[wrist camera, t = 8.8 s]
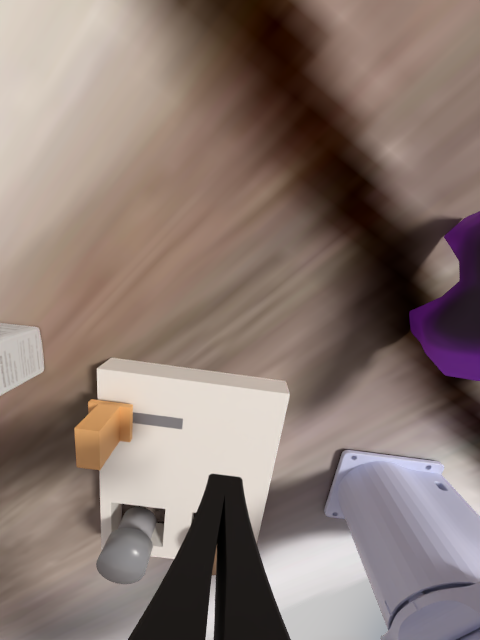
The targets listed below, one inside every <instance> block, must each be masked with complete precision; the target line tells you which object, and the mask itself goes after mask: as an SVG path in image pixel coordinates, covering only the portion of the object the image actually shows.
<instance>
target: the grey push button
mask: <svg viewBox="0 0 480 640" xmlns="http://www.w3.org/2000/svg"><path fill="white" fill-rule="evenodd" d="M155 525H156V517H155V515H154V514H153V513H152V512H151V511H150V510H148V509H145V508H142V507H134V508H131V509H129V510H127V511H126V512H125V514H124V516H123V518H122V520H121V522H120V524H119V526H118V529H117V530H115V531H113V532H112V533H111V534H110V535H109V537H108V539H107V541H106V543H105V545H104V547H103V549H102V552H101V554H100V556H99V558H98V560H97V564H96V565H97V569H98V571H99V573H100V574H101V575H102V576H103V577H104V578H106V579H107V580H109V581H112V582H115V583H119V584H131V583H134V582H137V581H139V580H140V579H141V578H142V577H143V576H144V574H145V571H146V568H147V565H148V561H149V558H150V555H151V552H152V548H153V544H152V541H151V537H152V534H153V531H154V528H155Z"/></svg>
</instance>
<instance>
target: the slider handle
mask: <svg viewBox="0 0 480 640" xmlns="http://www.w3.org/2000/svg"><path fill="white" fill-rule="evenodd" d="M88 411H89V414H88V415H87V416H86V417H85V418H84V419H83V420H82V421H81V422H80V423H79V424H78V425H77V426H76V427H75V428H74V430H75V447H76V465H77V467H78V468H86V469H94V470H101V468H102V467H103V465H104V464H105V462H106V461H107V459H108V458H109V456H110V455H111V453H112V452H113V451H114V449H115V448H116V446H117V445H118V443H119V442H120V441H123V442H130V441H131V440H132V429H133V405H132V404H125V403H117V402H109V401H102V400H94V399H91V400H90V401H89V402H88Z"/></svg>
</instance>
